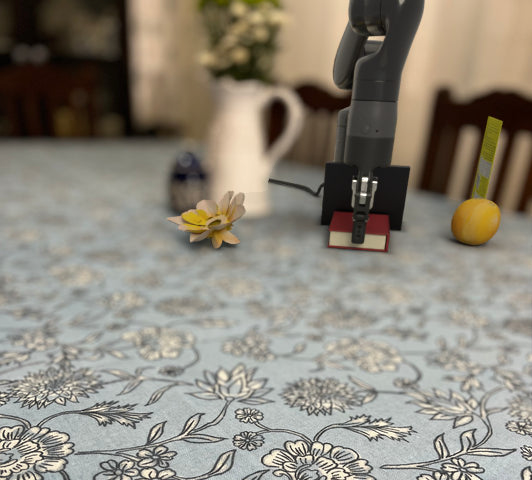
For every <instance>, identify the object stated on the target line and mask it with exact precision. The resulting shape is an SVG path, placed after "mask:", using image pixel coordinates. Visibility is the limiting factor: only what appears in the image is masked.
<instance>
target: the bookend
mask: <svg viewBox="0 0 532 480" xmlns="http://www.w3.org/2000/svg"><path fill="white" fill-rule="evenodd" d="M331 161H332V160H331ZM331 161H329V160H327V161H326V162H325V166H324V179H323V183H324V187H323V188H322V189H323V190H322V202H321V203H322V204H321V216H320V225H321V226H330V224H331V221H332V218H333V215H334V211H336V212H350V213H354V211H353V210H354V208H353V207H352V196H353V190H352V181H353V176H358V175H359V168H358V167H357V166H350V165H347V164H345V163H344V162H331ZM410 174H411V166H410V165H400V164H399V165H398V164H391V165H390V166H388V167H385V168H375V169H374V171H373V177H378V178H377V180H378V181H377V188H376V191H375V192H374V199H373V207H372V208H371V209H370V210H369V214H379V215H388V216H389V227H390V231H398V232H401V231H402V225H403V221H404V220H403V219H404V212H405V206H406V199H407V193H408V186H409V181H410Z"/></svg>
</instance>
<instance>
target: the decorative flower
mask: <svg viewBox="0 0 532 480" xmlns="http://www.w3.org/2000/svg"><path fill="white" fill-rule="evenodd" d="M234 194H235V191H234V190H227V192H226V193H225V194H224V195H223V196H222V197H220V199H219V201H218V203H217V202H216V201H215V200H209V199H202V200H200V201H199V202H197V204H196V207H195V208H196V209H191V208H190V209H188V210H187V211H184V212H182V213H181V215H178V216H169V217H166V218H165V219H166V220H167V221H168V222H171V223H173V224H175V225H177V226H178V230H180V231H183V232H185V233H189V243H194V242H200V241H203V240H205V239H207V240H208V239H210V240H211V244H212V247H213V248H214V249H216V250H218V249H219V248H220V247H221V246H222V244H223V241H224V242H225V243H228V244H231V245H236V244H238V243H240V242H241V240H240V239H239V238H238V237H237V236H236V235H234V234H233V233H232V232H230V231H233V228H232V227H234V223H235V222H237V221H238V220H240V219H241V218H242V217H243V216H244V215H245V214H246V213H247V209H246V208H245V205H244V202H245V197H246V195H245V193H244V192H238V193H236V194H235V195H234Z"/></svg>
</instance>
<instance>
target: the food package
mask: <svg viewBox="0 0 532 480" xmlns="http://www.w3.org/2000/svg"><path fill="white" fill-rule="evenodd" d="M503 122H504V121H502V120H500V119H498V118H495V117H492V116H490V115H489V116H488V117H487V123H486V126H485V127H486V128H485V131H484V136H483V140H482V145H481V150H480V155H479V159H478V164H477V170H476V175H475V179H474V184H473V188H472V193H471V198H470V199H474V198H481V199H487V194H488V190H489V185H490V180H491V177H492V171H493V166H494V162H495V159H496V158H495V157H496V153H497V148H498V144H499V140H500V134H501V130H502V128H503V127H502V126H503Z"/></svg>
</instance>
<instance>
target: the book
mask: <svg viewBox="0 0 532 480" xmlns="http://www.w3.org/2000/svg"><path fill="white" fill-rule="evenodd" d="M352 214H353V213H350V212H336V211H334V215H333V218H332V221H331V224H330V225H329V228H328V232H330V233H329V239H328V242H327V245H326V247H327V248H329V249H330V248H331V249H343V250H345V249H346V250H354V251H355V250H356V251H367V252H368V251H370V252H380V253H388V251H389V244H390V237H391V230H390V227H389V216H388V215H379V214H369V220H368V221H367V224H366V232H365V240H364V243H363V244H353V243H352V242H351V238H352V229H353V219H352Z"/></svg>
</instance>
